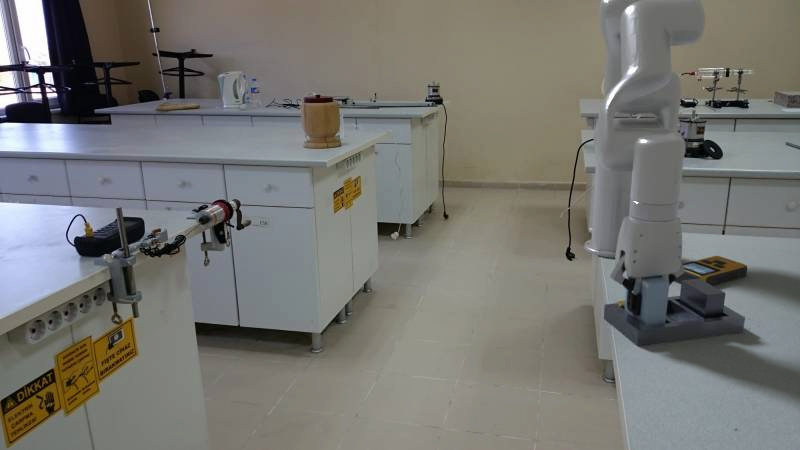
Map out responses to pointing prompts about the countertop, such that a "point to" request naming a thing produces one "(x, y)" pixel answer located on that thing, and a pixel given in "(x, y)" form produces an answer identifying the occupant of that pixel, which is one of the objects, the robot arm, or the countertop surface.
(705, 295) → the rack
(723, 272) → the electronic device
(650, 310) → the light blue block
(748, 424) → the countertop surface
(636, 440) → the countertop surface
